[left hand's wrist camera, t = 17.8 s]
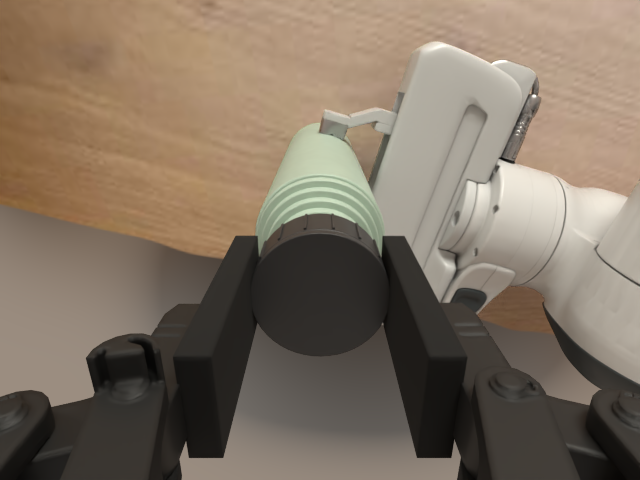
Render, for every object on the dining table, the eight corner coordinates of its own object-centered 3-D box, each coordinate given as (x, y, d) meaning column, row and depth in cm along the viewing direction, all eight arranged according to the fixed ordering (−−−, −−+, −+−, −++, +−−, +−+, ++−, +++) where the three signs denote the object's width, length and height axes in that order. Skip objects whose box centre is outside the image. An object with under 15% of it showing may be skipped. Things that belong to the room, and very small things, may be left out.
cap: (352, 340, 16) (356, 373, 14) (241, 302, 15) (230, 332, 13) (404, 239, 14) (416, 262, 12) (282, 192, 13) (276, 210, 12)
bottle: (350, 119, 34) (404, 199, 12) (354, 184, 36) (407, 352, 14) (283, 126, 34) (219, 216, 12) (291, 190, 36) (249, 365, 14)
